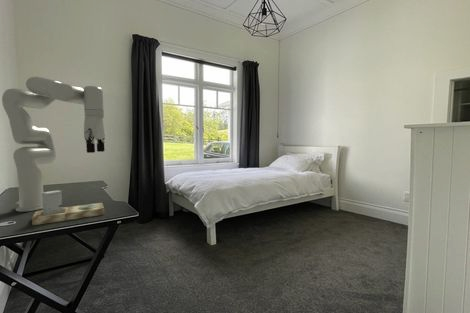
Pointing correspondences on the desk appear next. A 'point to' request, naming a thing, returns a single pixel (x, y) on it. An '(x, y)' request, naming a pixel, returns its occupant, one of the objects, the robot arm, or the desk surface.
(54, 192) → the skincare box
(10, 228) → the desk surface
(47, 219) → the puzzle board
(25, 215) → the desk surface
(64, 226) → the desk surface
